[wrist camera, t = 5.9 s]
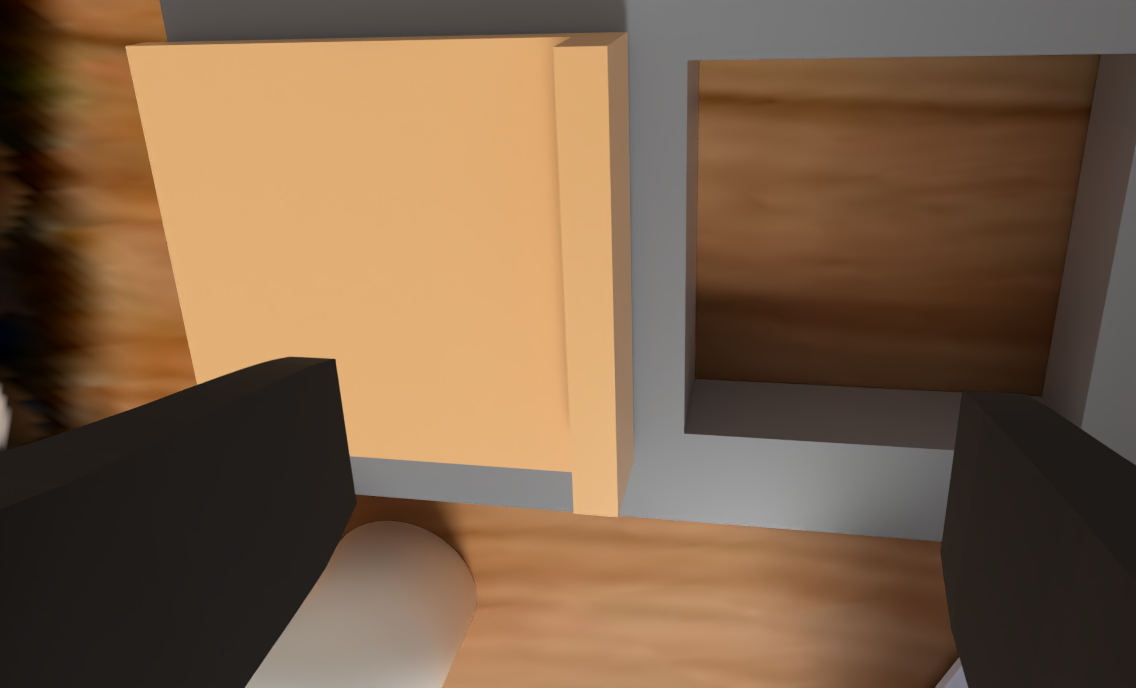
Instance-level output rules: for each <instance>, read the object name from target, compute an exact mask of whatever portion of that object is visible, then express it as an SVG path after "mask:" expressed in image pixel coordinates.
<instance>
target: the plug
mask: <svg viewBox="0 0 1136 688" xmlns="http://www.w3.org/2000/svg"><path fill="white" fill-rule="evenodd" d="M476 604H477V593H476V587H475V583H474V580H473V577H472V575H471V572H470V570H469V568H468V567H467V565H466V563H465V562H464V560H463V559H462V558H461V557H460V555H459V554H458V553H457V552H456V551H455V550H454V549H453V548H452V547H451V546H450V545H449V544H448V543H446V542H445V541H444V540H443V539H441V538H440V537H438V536H437V535H435V534H433V533H431V532H429V531H428V530H426V529H423V528H421V527H418V526H415V525H412V524H408V523H404V522H398V521H376V522H371V523H367V524H364V525H361V526H359V527H357V528H355V529H353V530H352V531H350V532H349V533H348V534H346V535H345V536H344V537H343V538H342V539H341V540H340V542H339V543H338V545H337V547H336V549H335V551H334V553H333V555H332V557H331V559H330V561H329V563H328V565H327V567H326V569H325V570H324V572H323V573H322V575H321V576H320V578H319V579H318V581H317V582H316V584H315V586H314V587H313V589H312V590H311V592H310V593H309V594H308V596H307V597H306V599H305V600H304V602H303V603H302V605H301V606H300V608H299V609H298V611H297V612H296V614H295V615H294V617H293V618H292V620H291V621H290V623H289V624H288V626H287V627H286V629H285V630H284V631H283V633H282V634H281V636H280V637H279V639H278V640H277V642H276V643H275V644H274V646H273V647H272V649H271V650H270V652H269V653H268V655H267V656H266V658H265V659H264V660H263V662H262V663H261V665H260V666H259V668H258V669H257V671H256V672H255V674H254V675H253V676H252V678H251V679H250V681H249V682H248V684H247V685H246V687H245V688H442V686H443V684H444V682H445V679H446V677H447V675H448V673H449V670H450V668H451V666H452V664H453V661H454V659H455V657H456V655H457V652H458V650H459V648H460V646H461V644H462V641H463V639H464V637H465V635H466V632H467V630H468V628H469V626H470V623H471V621H472V619H473V616H474V613H475V610H476Z"/></svg>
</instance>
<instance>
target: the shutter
mask: <svg viewBox="0 0 1136 688" xmlns="http://www.w3.org/2000/svg"><path fill="white" fill-rule="evenodd" d="M126 51H127V56H128V61H129V65H130V70H131V75H132V79H133V84H134V89H135V94H136V98H137V103H138V108H139V112H140V117H141V122H142V127H143V131H144V136H145V141H146V145H147V150H148V155H149V160H150V164H151V169H152V174H153V179H154V183H155V188H156V193H157V197H158V202H159V207H160V212H161V216H162V221H163V226H164V230H165V235H166V240H167V245H168V249H169V254H170V259H171V263H172V268H173V273H174V278H175V282H176V287H177V292H178V296H179V301H180V306H181V311H182V315H183V320H184V325H185V329H186V334H187V339H188V344H189V348H190V353H191V358H192V363H193V367H194V372H195V377H196V381H197V385H198V384H201V383H204V382H207V381H209V380H212V379H215V378H217V377H220V376H223V375H226V374H229V373H232V372H234V371H237V370H240V369H243V368H246V367H249V366H253V365H256V364H259V363H263V362H266V361H270V360H274V359H279V358H284V357H310V358H330V359H336V366H337V373H338V380H339V387H340V393H341V400H342V407H343V414H344V421H345V427H346V434H347V441H348V448H349V454H350V456H354V457H368V458H382V459H395V460H409V461H423V462H437V463H451V464H465V465H479V466H493V467H506V468H520V469H534V470H548V471H562V472H572V487H573V510H574V514H584V515H596V516H609V517H618V516H619V512H620V508H621V505H622V501H623V498H624V494H625V491H626V487H627V484H628V480H629V476H630V473H631V469H632V466H633V462H634V430H633V362H632V294H631V225H630V157H629V89H628V32H600V33H554V34H508V35H462V36H416V37H370V38H324V39H278V40H232V41H186V42H145V43H140V44H134V45H129V46H126Z"/></svg>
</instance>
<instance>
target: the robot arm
mask: <svg viewBox="0 0 1136 688" xmlns="http://www.w3.org/2000/svg"><path fill="white" fill-rule="evenodd" d="M356 503H357V502H356V495H355V488H354V482H353V475H352V468H351V461H350V454H349V448H348V441H347V434H346V427H345V421H344V414H343V407H342V400H341V393H340V387H339V380H338V373H337V366H336V359H330V358H310V357H284V358H279V359H274V360H270V361H266V362H263V363H259V364H256V365H253V366H249V367H246V368H243V369H240V370H237V371H234V372H232V373H229V374H226V375H223V376H220V377H217V378H215V379H212V380H209V381H207V382H204V383H201V384H198V385H196V386H193V387H190V388H188V389H185V390H182V391H180V392H177V393H174V394H172V395H169V396H166V397H164V398H161V399H158V400H156V401H153V402H150V403H148V404H145V405H142V406H139V407H137V408H134V409H131V410H128V411H125V412H122V413H119V414H117V415H114V416H111V417H108V418H105V419H102V420H99V421H96V422H93V423H90V424H88V425H85V426H82V427H79V428H76V429H73V430H70V431H67V432H64V433H62V434H59V435H56V436H53V437H50V438H46V439H43V440H40V441H37V442H34V443H30V444H27V445H24V446H20V447H17V448H13V449H10V450H7V451H3V452H0V688H245V687H246V685H247V684H248V682H249V681H250V679H251V678H252V676H253V675H254V674H255V672H256V671H257V669H258V668H259V666H260V665H261V663H262V662H263V660H264V659H265V658H266V656H267V655H268V653H269V652H270V650H271V649H272V647H273V646H274V644H275V643H276V642H277V640H278V639H279V637H280V636H281V634H282V633H283V631H284V630H285V629H286V627H287V626H288V624H289V623H290V621H291V620H292V618H293V617H294V615H295V614H296V612H297V611H298V609H299V608H300V606H301V605H302V603H303V602H304V600H305V599H306V597H307V596H308V594H309V593H310V592H311V590H312V589H313V587H314V586H315V584H316V582H317V581H318V579H319V578H320V576H321V575H322V573H323V572H324V570H325V569H326V567H327V565H328V563H329V561H330V559H331V557H332V555H333V553H334V551H335V549H336V547H337V545H338V543H339V541H340V539H341V537H342V534H343V532H344V530H345V528H346V525H347V523H348V521H349V519H350V517H351V514H352V512H353V510H354V508H355V505H356ZM941 559H942V566H943V574H944V581H945V589H946V596H947V603H948V609H949V616H950V622H951V629H952V633H953V636H954V640H955V644H956V647H957V651H958V654H959V658H958V659H957V660H956V662H955V663H954V664H953V665H952V667H951V668H950V669H949V670H948V672H947V673H946V674H945V675H944V677H943V678H942V679H941V680H940V682H939V683H938V684H937V685H936V687H935V688H1136V465H1135V464H1133V463H1132V462H1130V461H1128V460H1127V459H1125V458H1124V457H1122V456H1121V455H1119V454H1118V453H1116V452H1115V451H1113V450H1112V449H1110V448H1109V447H1107V446H1106V445H1104V444H1103V443H1101V442H1100V441H1098V440H1097V439H1095V438H1094V437H1092V436H1091V435H1090V434H1088V433H1087V432H1085V431H1084V430H1082V429H1081V428H1079V427H1078V426H1076V425H1075V424H1073V423H1072V422H1070V421H1069V420H1067V419H1066V418H1064V417H1063V416H1061V415H1060V414H1058V413H1057V412H1055V411H1053V410H1052V409H1050V408H1049V407H1047V406H1046V405H1044V404H1042V403H1041V402H1039V401H1037V400H1035V399H1034V398H1032V397H1030V396H1028V395H1026V394H1019V393H999V392H980V391H962V396H961V404H960V411H959V418H958V426H957V433H956V441H955V448H954V455H953V463H952V470H951V478H950V485H949V492H948V500H947V507H946V514H945V522H944V529H943V537H942V544H941Z"/></svg>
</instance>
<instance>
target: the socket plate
mask: <svg viewBox="0 0 1136 688" xmlns="http://www.w3.org/2000/svg"><path fill="white" fill-rule="evenodd" d="M160 4H161V10H162V15H163V20H164V25H165V30H166V35H167V40H168V42H186V41H232V40H278V39H324V38H370V37H416V36H462V35H508V34H554V33H600V32H628V89H629V157H630V225H631V294H632V362H633V430H634V462H633V466H632V469H631V473H630V476H629V480H628V484H627V487H626V491H625V494H624V498H623V501H622V505H621V508H620V512H619V516H629V517H641V518H654V519H666V520H679V521H691V522H704V523H716V524H728V525H741V526H753V527H766V528H778V529H790V530H803V531H815V532H828V533H840V534H852V535H865V536H877V537H890V538H902V539H915V540H927V541H939V542H942V537H943V529H944V522H945V514H946V507H947V500H948V492H949V485H950V478H951V470H952V463H953V455H954V448H955V441H956V433H957V426H958V418H959V411H960V404H961V396H962V392H943V391H924V390H904V389H884V388H864V387H845V386H825V385H805V384H786V383H766V382H746V381H727V380H707V379H695V334H696V260H697V185H698V111H699V60H749V59H813V58H878V57H942V56H1006V55H1071V54H1101V55H1100V61H1099V67H1098V73H1097V79H1096V84H1095V90H1094V96H1093V102H1092V108H1091V113H1090V119H1089V125H1088V131H1087V137H1086V143H1085V148H1084V154H1083V160H1082V166H1081V172H1080V178H1079V183H1078V189H1077V195H1076V201H1075V207H1074V213H1073V218H1072V224H1071V230H1070V236H1069V242H1068V248H1067V253H1066V259H1065V265H1064V271H1063V277H1062V283H1061V288H1060V294H1059V300H1058V306H1057V312H1056V317H1055V323H1054V329H1053V335H1052V341H1051V347H1050V352H1049V358H1048V364H1047V370H1046V376H1045V382H1044V387H1043V393H1042V396H1030V397H1032V398H1034V399H1035V400H1037V401H1039V402H1041V403H1042V404H1044V405H1046V406H1047V407H1049V408H1050V409H1052V410H1053V411H1055V412H1057V413H1058V414H1060V415H1061V416H1063V417H1064V418H1066V419H1067V420H1069V421H1070V422H1072V423H1073V424H1075V425H1076V426H1078V427H1079V428H1081V429H1082V430H1084V431H1085V432H1087V433H1088V434H1090V435H1091V436H1092V437H1094V438H1095V439H1097V440H1098V441H1100V442H1101V443H1103V444H1104V445H1106V446H1107V447H1109V448H1110V449H1112V450H1113V451H1115V452H1116V453H1118V454H1119V455H1121V456H1122V457H1124V458H1125V459H1127V460H1128V461H1130V462H1132V463H1133V464H1135V465H1136V0H160ZM350 461H351V468H352V475H353V482H354V488H355V494H356V495H368V496H381V497H393V498H406V499H418V500H430V501H443V502H455V503H468V504H480V505H492V506H505V507H517V508H530V509H542V510H555V511H567V512H574V510H573V487H572V472H562V471H548V470H534V469H520V468H506V467H493V466H479V465H465V464H451V463H437V462H423V461H409V460H395V459H382V458H368V457H354V456H350Z"/></svg>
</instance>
